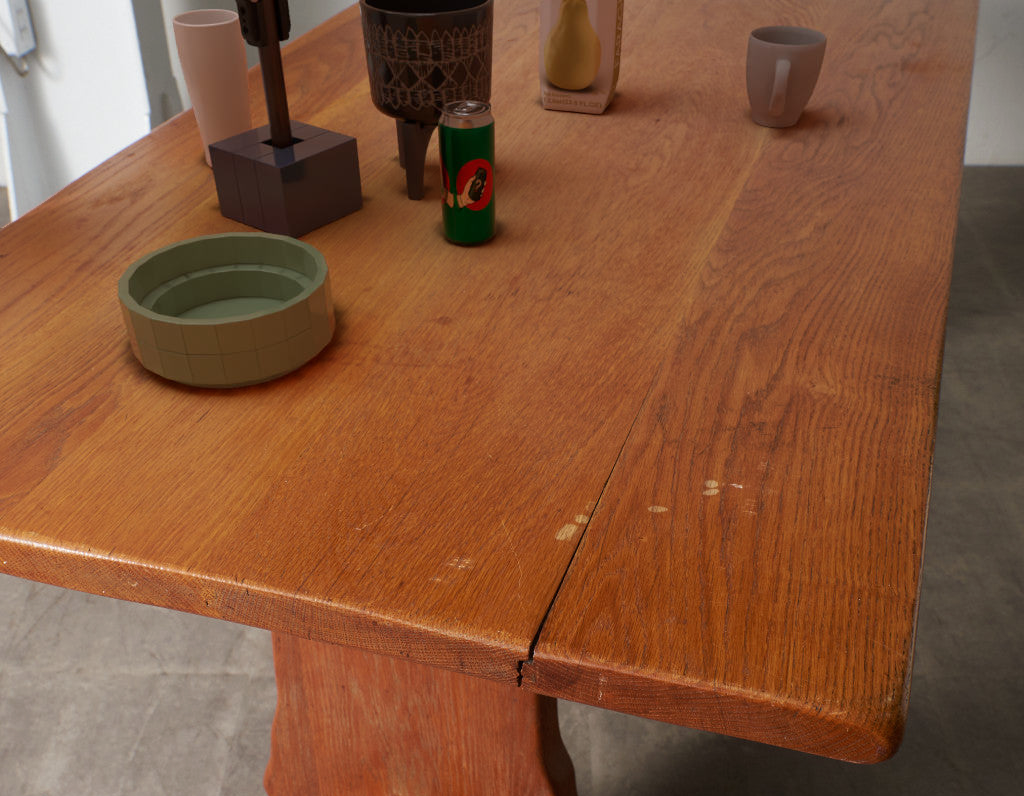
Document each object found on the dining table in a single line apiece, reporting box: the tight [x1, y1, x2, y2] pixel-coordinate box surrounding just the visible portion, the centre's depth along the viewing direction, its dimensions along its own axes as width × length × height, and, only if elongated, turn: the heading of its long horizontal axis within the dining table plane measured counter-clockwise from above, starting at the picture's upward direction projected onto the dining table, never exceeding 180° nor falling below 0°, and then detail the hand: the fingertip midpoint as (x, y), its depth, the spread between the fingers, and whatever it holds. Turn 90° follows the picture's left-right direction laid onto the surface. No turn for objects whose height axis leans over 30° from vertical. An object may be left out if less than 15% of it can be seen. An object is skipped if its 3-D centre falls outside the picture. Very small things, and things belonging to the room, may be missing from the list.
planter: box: [358, 0, 495, 201], centre depth 102 cm, size 13×13×18 cm
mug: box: [745, 25, 828, 128], centre depth 118 cm, size 12×9×10 cm
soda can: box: [437, 101, 497, 247], centre depth 93 cm, size 5×5×12 cm
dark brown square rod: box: [257, 0, 293, 150], centre depth 94 cm, size 2×2×20 cm
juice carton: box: [538, 0, 625, 115], centre depth 119 cm, size 9×8×24 cm
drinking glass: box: [172, 8, 253, 169], centre depth 107 cm, size 7×7×15 cm
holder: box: [208, 118, 364, 239], centre depth 99 cm, size 10×10×7 cm
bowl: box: [117, 231, 337, 389], centre depth 79 cm, size 16×16×6 cm
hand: (267, 41), depth 91 cm, fingers closed on dark brown square rod, 2 cm apart
